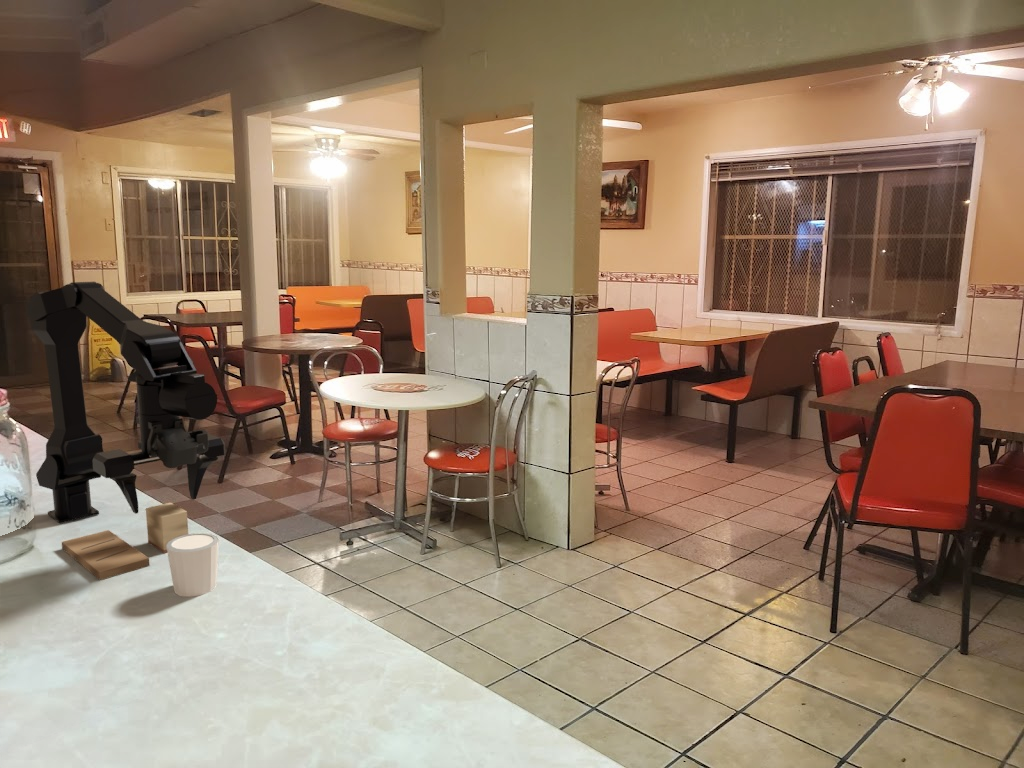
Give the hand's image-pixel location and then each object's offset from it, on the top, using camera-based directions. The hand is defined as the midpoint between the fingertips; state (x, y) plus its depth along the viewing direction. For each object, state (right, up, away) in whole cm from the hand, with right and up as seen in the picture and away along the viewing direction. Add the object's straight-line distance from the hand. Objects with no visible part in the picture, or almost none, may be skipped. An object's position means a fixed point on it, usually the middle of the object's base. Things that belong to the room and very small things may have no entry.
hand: (165, 505), depth 121 cm
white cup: (+11, -10, -14) cm, 20 cm away
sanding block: (0, -7, +1) cm, 7 cm away
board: (-8, -7, -4) cm, 11 cm away
